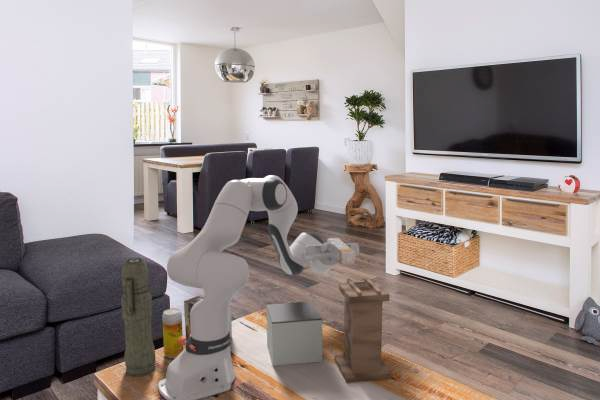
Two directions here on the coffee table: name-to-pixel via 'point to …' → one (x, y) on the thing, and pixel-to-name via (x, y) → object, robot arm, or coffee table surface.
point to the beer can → (172, 332)
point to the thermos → (137, 318)
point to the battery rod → (341, 251)
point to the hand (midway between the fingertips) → (335, 245)
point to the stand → (362, 332)
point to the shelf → (294, 333)
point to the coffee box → (187, 308)
